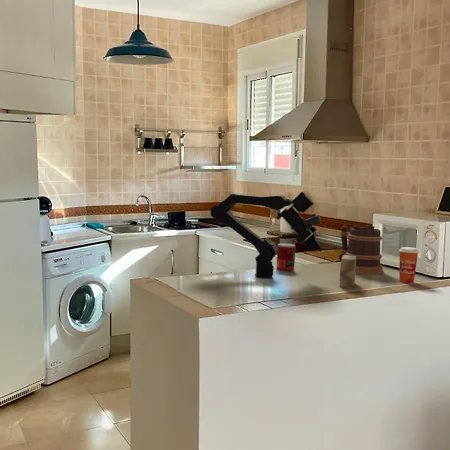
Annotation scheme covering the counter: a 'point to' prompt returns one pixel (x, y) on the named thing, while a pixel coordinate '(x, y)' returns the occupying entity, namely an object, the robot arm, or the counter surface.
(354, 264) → the wooden box
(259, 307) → the counter surface
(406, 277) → the paper cup
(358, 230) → the mug
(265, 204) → the robot arm
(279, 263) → the canned food
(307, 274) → the counter surface
